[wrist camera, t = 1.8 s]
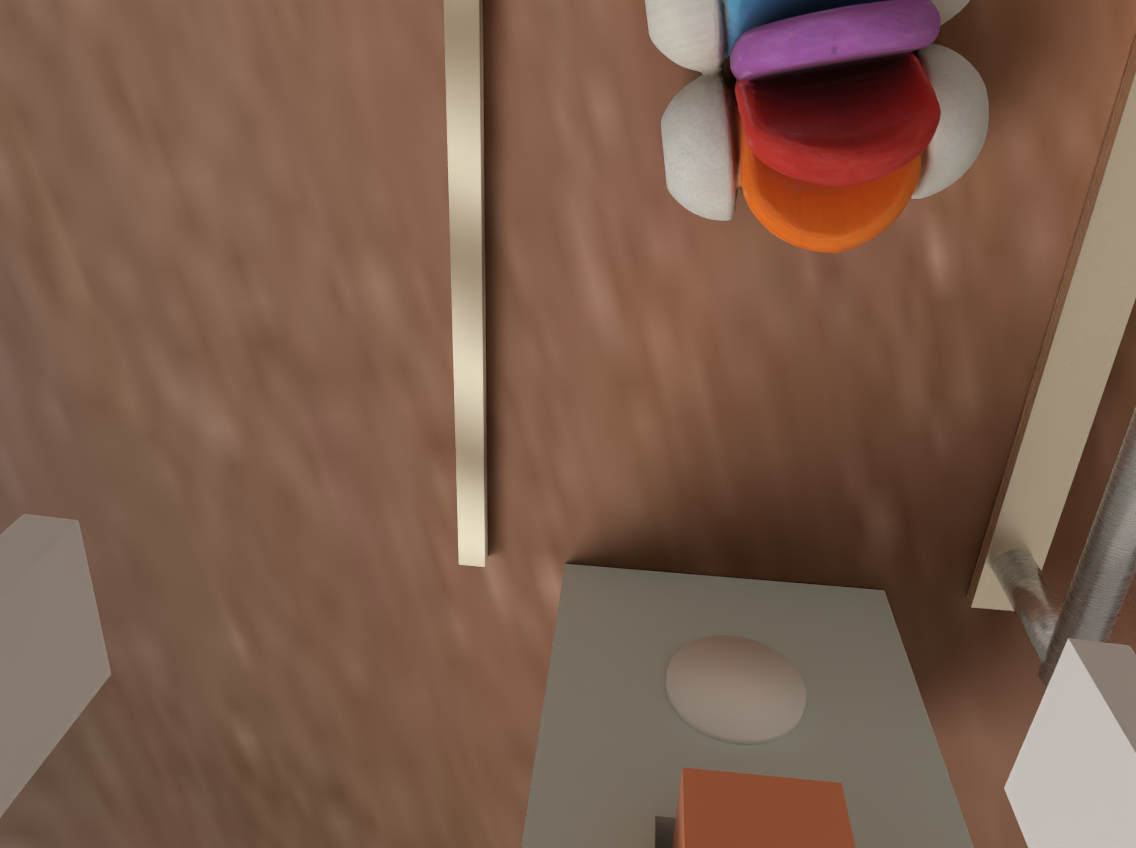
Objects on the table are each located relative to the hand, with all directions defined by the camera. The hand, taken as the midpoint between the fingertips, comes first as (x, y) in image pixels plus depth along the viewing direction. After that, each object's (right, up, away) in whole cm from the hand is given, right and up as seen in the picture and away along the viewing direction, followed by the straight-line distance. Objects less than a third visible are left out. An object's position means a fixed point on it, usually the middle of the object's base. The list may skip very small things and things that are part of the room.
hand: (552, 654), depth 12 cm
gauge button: (+5, -7, +11) cm, 14 cm away
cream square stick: (-3, +9, +17) cm, 19 cm away
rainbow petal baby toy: (+7, +14, +14) cm, 21 cm away
